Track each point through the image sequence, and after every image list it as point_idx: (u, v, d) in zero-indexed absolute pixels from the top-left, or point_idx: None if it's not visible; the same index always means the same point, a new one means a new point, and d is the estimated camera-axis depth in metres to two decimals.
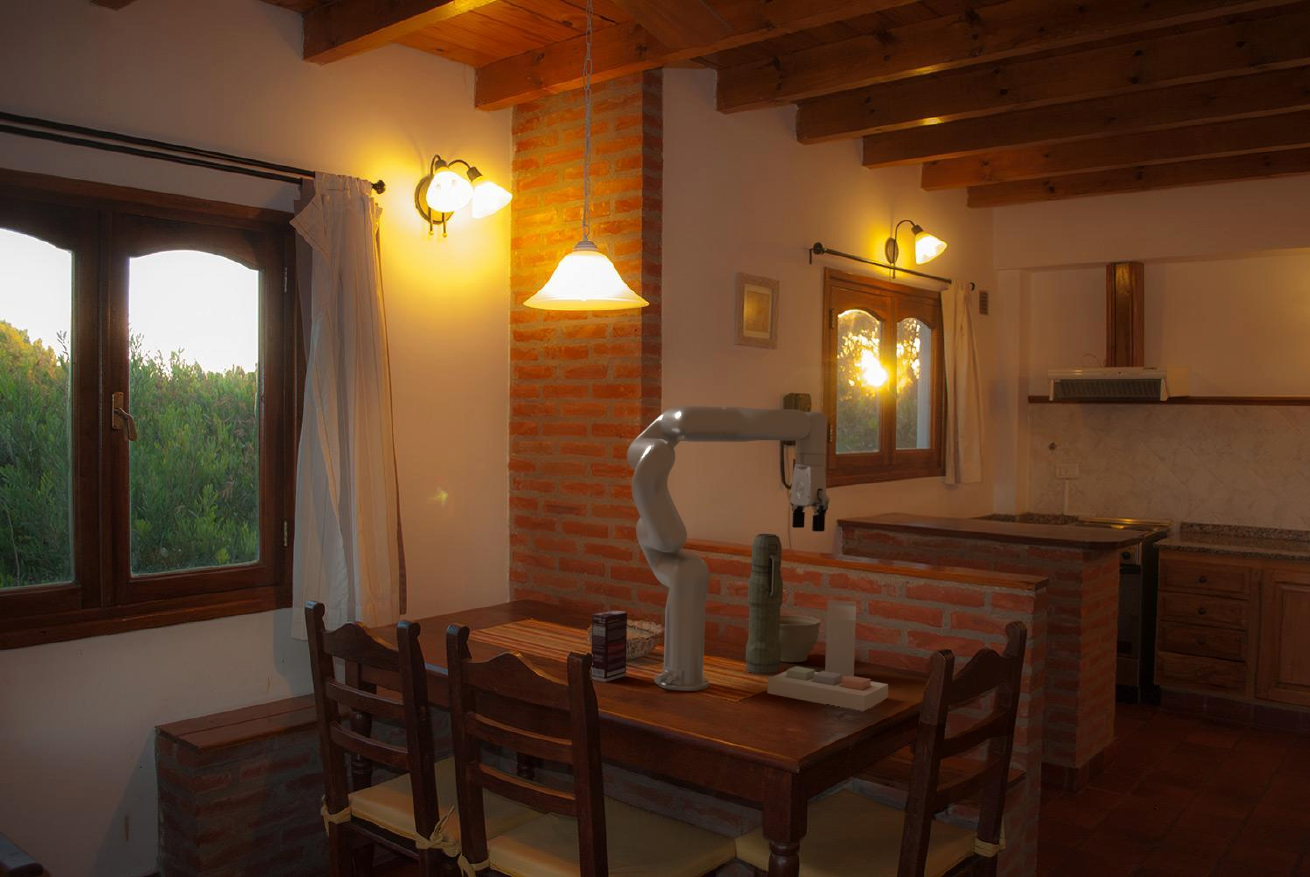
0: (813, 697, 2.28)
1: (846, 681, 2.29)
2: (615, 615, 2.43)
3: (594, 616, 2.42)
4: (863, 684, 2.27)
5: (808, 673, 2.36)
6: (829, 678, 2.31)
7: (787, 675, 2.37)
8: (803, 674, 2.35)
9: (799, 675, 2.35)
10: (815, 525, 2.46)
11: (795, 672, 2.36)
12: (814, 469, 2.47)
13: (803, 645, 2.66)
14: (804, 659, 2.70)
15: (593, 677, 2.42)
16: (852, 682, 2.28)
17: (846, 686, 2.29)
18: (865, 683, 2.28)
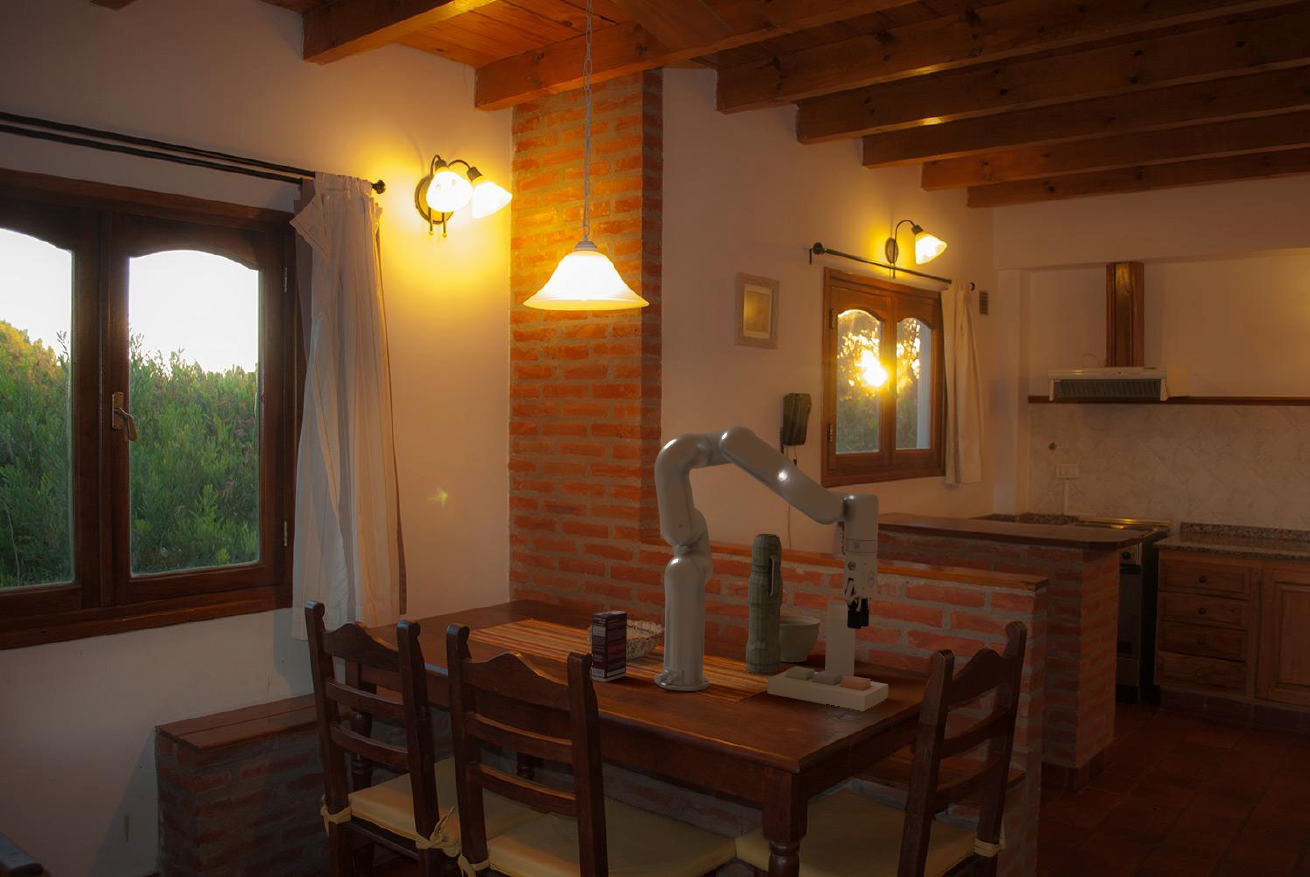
0: (813, 697, 2.28)
1: (846, 681, 2.29)
2: (615, 615, 2.43)
3: (594, 616, 2.42)
4: (863, 684, 2.27)
5: (808, 673, 2.36)
6: (829, 678, 2.31)
7: (787, 675, 2.37)
8: (803, 674, 2.35)
9: (799, 675, 2.35)
10: None
11: (795, 672, 2.36)
12: None
13: (803, 645, 2.66)
14: (804, 659, 2.70)
15: (593, 677, 2.42)
16: (852, 682, 2.28)
17: (846, 686, 2.29)
18: (865, 683, 2.28)
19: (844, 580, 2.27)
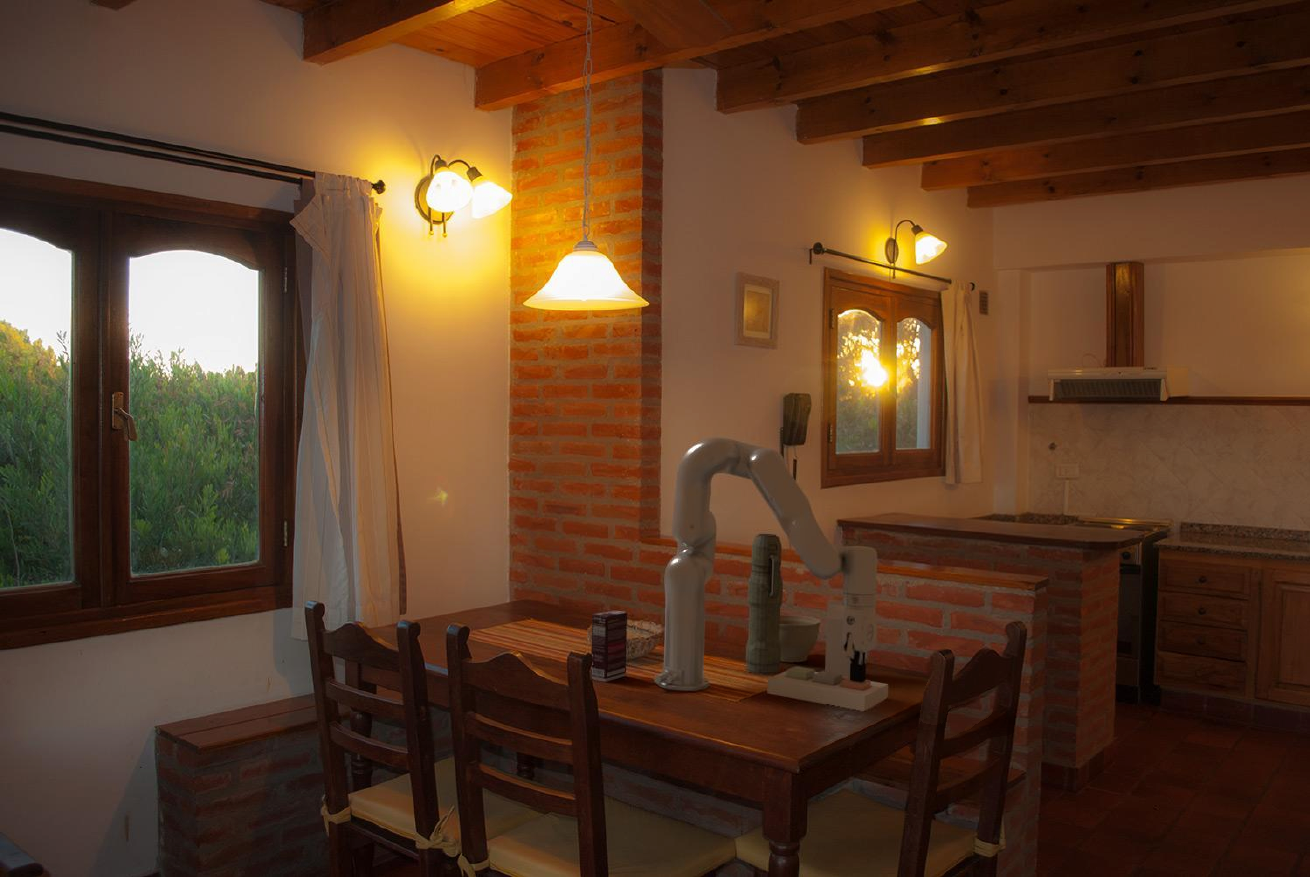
0: (813, 697, 2.28)
1: (846, 682, 2.29)
2: (615, 615, 2.43)
3: (594, 616, 2.42)
4: (863, 685, 2.27)
5: (808, 673, 2.36)
6: (829, 678, 2.31)
7: (787, 675, 2.37)
8: (803, 674, 2.35)
9: (799, 675, 2.35)
10: None
11: (795, 672, 2.36)
12: None
13: (803, 645, 2.66)
14: (804, 659, 2.70)
15: (593, 677, 2.42)
16: (852, 683, 2.28)
17: (846, 687, 2.29)
18: (865, 684, 2.28)
19: (843, 635, 2.27)
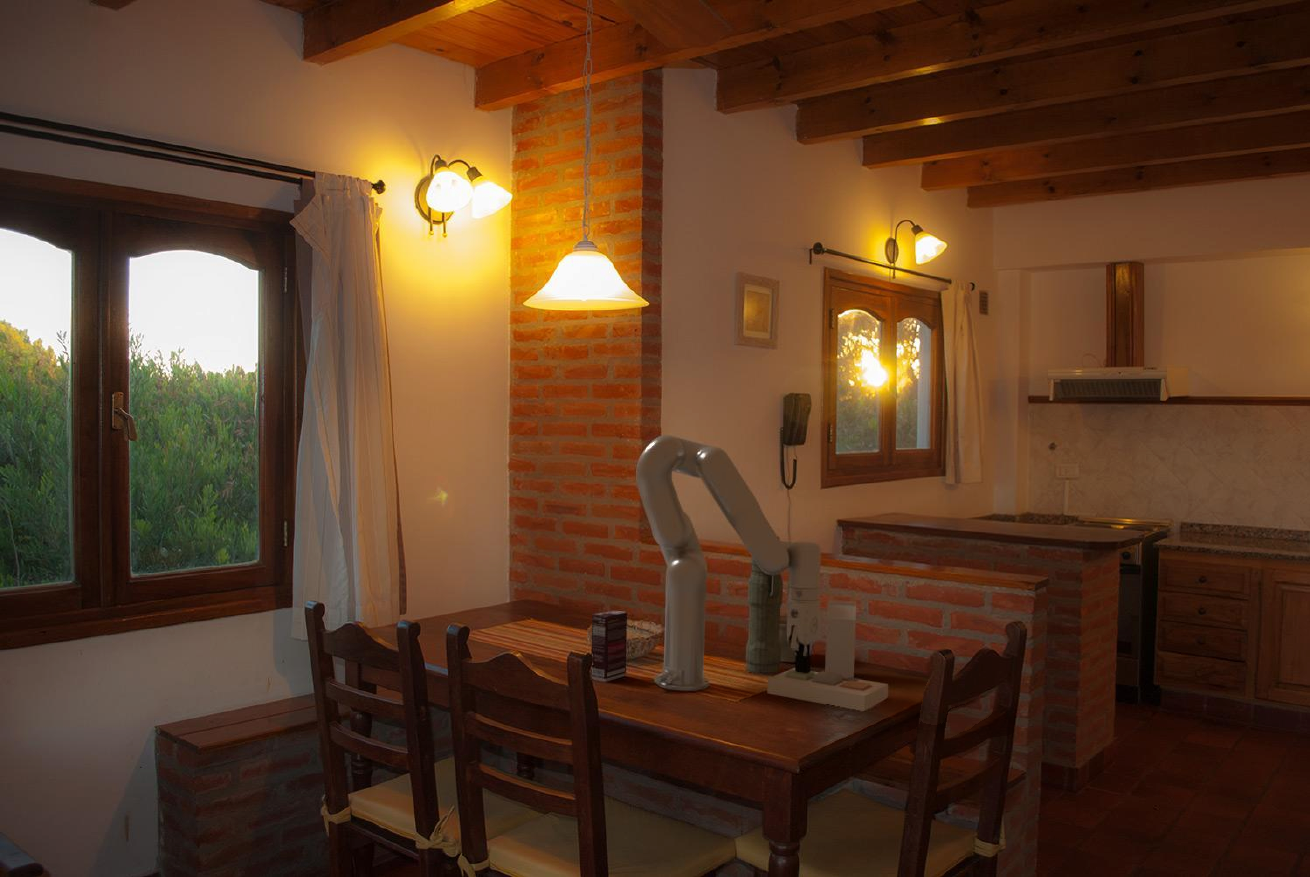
0: (813, 697, 2.28)
1: (846, 686, 2.29)
2: (615, 615, 2.43)
3: (594, 616, 2.42)
4: (863, 689, 2.27)
5: (808, 675, 2.36)
6: (829, 678, 2.31)
7: None
8: (803, 676, 2.35)
9: (799, 677, 2.35)
10: None
11: (795, 674, 2.36)
12: None
13: None
14: None
15: (593, 677, 2.42)
16: (852, 687, 2.28)
17: None
18: (865, 688, 2.28)
19: (788, 627, 2.35)
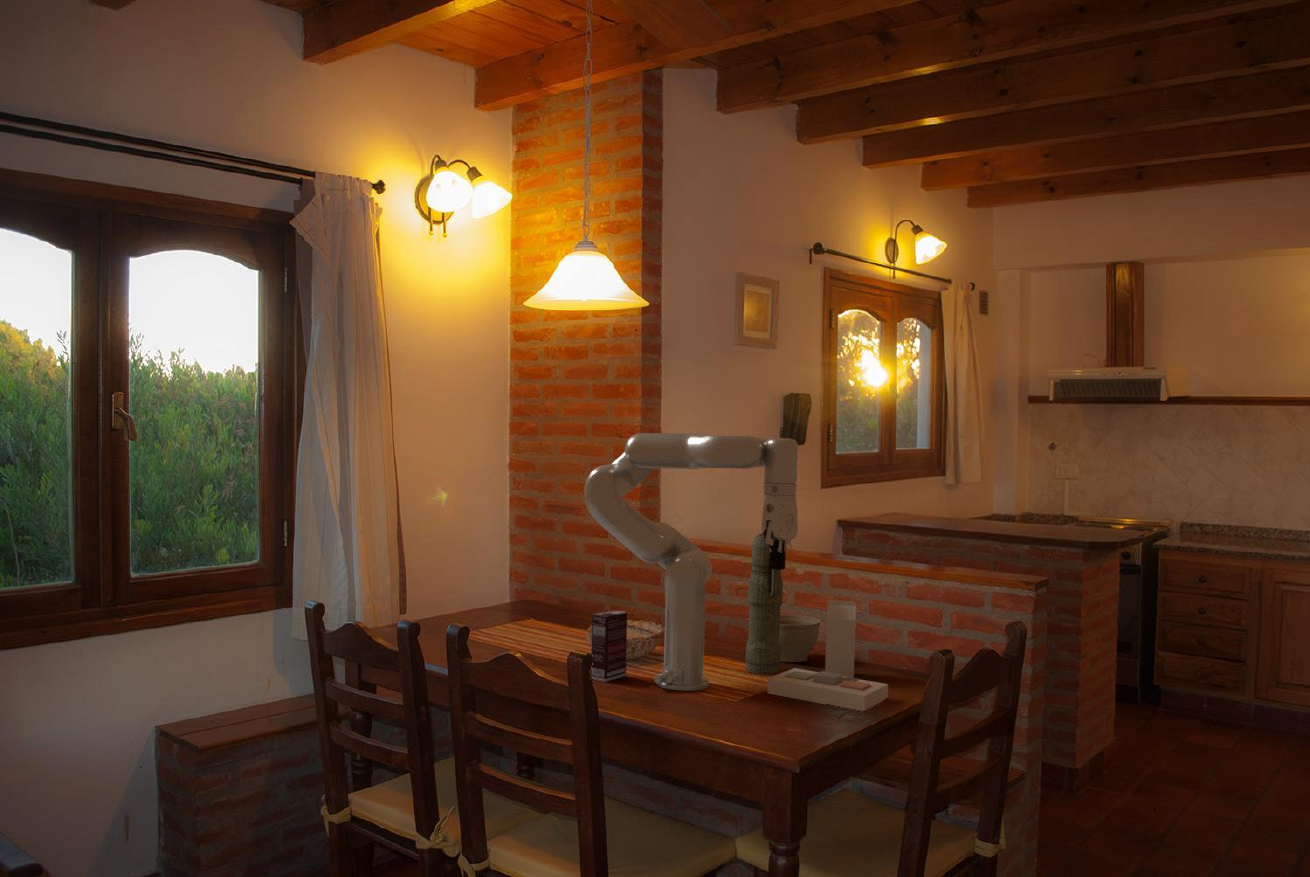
0: (813, 697, 2.28)
1: (846, 686, 2.29)
2: (615, 615, 2.43)
3: (594, 616, 2.42)
4: (863, 689, 2.27)
5: (808, 678, 2.36)
6: (829, 678, 2.31)
7: None
8: (803, 679, 2.35)
9: None
10: None
11: (795, 677, 2.36)
12: None
13: (803, 645, 2.66)
14: (804, 659, 2.70)
15: (593, 677, 2.42)
16: (852, 687, 2.28)
17: None
18: (865, 688, 2.28)
19: (763, 522, 2.32)
